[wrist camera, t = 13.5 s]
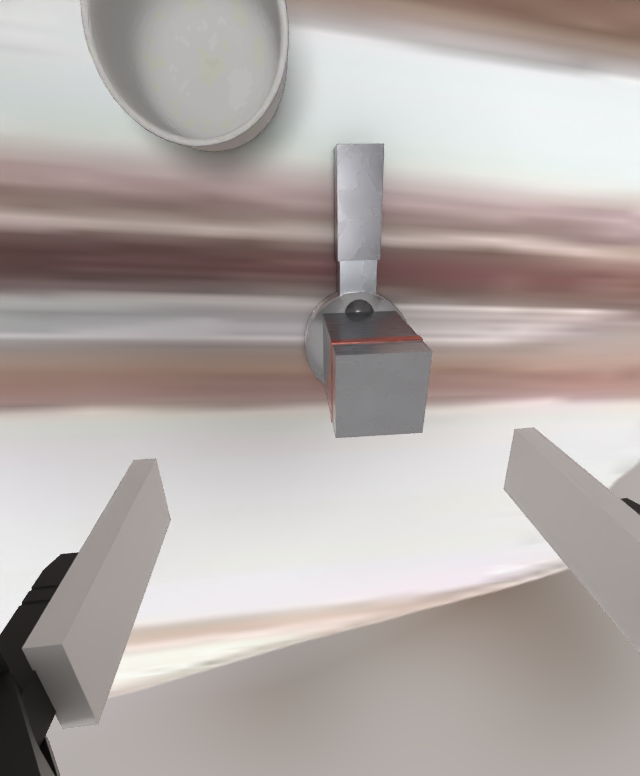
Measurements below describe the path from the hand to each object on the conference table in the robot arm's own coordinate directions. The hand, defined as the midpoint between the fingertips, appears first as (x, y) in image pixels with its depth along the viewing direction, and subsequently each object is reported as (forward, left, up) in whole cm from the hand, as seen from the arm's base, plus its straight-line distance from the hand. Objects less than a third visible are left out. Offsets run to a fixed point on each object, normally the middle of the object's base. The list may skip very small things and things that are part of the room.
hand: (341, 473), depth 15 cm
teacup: (-20, -7, -23) cm, 31 cm away
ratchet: (-4, +4, -23) cm, 23 cm away
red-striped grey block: (+1, +4, -20) cm, 20 cm away
